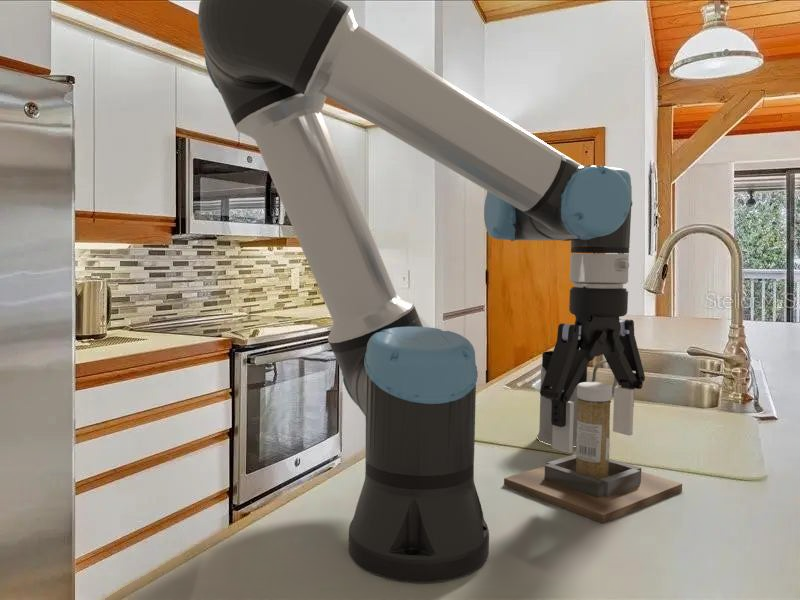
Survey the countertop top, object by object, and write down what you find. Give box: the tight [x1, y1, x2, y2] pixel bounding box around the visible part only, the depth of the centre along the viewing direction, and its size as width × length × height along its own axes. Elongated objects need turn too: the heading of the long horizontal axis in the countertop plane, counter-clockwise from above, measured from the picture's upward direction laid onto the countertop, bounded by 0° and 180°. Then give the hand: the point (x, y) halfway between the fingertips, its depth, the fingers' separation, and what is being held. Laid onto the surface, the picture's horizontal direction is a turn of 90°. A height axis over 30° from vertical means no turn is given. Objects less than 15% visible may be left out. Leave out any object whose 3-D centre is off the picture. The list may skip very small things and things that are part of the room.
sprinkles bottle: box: [575, 381, 613, 480], centre depth 89 cm, size 5×5×13 cm
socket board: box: [503, 453, 683, 524], centre depth 90 cm, size 18×16×3 cm
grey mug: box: [536, 350, 618, 446], centre depth 113 cm, size 9×14×15 cm, turn 100°
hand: (593, 441), depth 90 cm, fingers open, 13 cm apart
